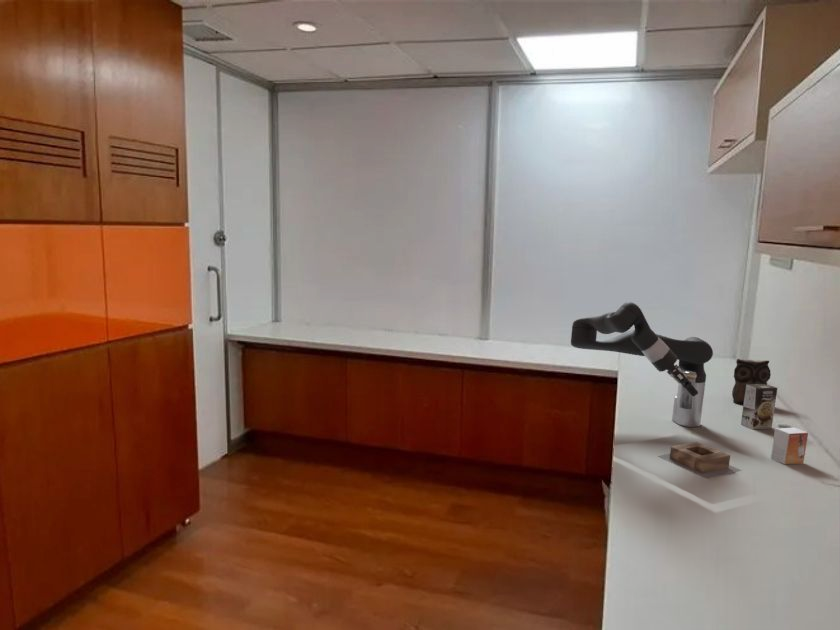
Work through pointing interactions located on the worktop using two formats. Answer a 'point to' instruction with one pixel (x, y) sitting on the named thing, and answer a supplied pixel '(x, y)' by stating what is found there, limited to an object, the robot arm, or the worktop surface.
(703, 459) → the socket block
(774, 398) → the coffee box
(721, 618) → the worktop surface
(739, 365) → the owl
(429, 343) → the worktop surface
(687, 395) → the gold-rimmed metal cylinder
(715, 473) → the base
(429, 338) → the worktop surface
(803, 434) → the small box
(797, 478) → the worktop surface
